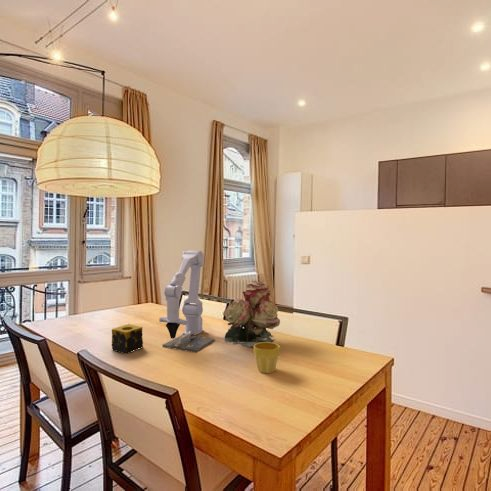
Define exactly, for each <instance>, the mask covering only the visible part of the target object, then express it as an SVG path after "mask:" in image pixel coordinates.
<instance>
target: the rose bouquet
mask: <svg viewBox="0 0 491 491" xmlns="http://www.w3.org/2000/svg"><path fill="white" fill-rule="evenodd" d="M266 284H267V283H266V282H264V281H263V280H261V281H256V280H251V281H250V282H248V283H246V290H245V291H242V292H241V293H242V295H243V298H244V300H243V299H241V298H235V299H234V300H233V301H232V302H231V303H230V305H228V306H227V307H226V308H225V309H224V311H223V314H222V315H223V316H224V317H226V319H227V321H228V323H227V325H228V326H230V327H229V328H228V330H227V332H225V335H224V343H228V344H231V345H232V344H233V345H235V344H237V345H240V346H242V347H244V348H245V347H247V348H254V345H255V344H256V343H260V342H271V343H274V341H275V339H272V338H274V335H272V333H271V332H270V331H269V330H273V329H275V328H277V327H278V326H280V323H281V320H280V318H278V317H279V316H278V315H279V314H278V312H279V307H278V306H276V304H275V303H274V302H273V301H271V300H270V296H271V290H270V289H269V287H268V286H266ZM267 329H269V330H267Z"/></svg>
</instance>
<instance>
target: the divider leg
mask: <svg viewBox="0 0 491 491" xmlns="http://www.w3.org/2000/svg"><path fill="white" fill-rule="evenodd" d="M191 336H195V335H194V331H188V333H187V334H185V335H184V336H182V337H180V338H179V339H178V343H179V345H181V343H182V342H183V341H185V340H186V339H188V338H189V337H191Z"/></svg>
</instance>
